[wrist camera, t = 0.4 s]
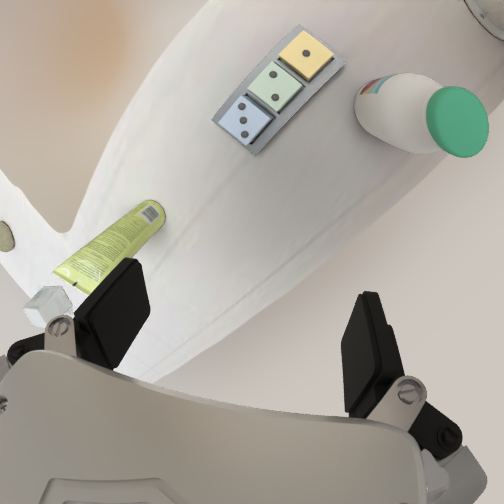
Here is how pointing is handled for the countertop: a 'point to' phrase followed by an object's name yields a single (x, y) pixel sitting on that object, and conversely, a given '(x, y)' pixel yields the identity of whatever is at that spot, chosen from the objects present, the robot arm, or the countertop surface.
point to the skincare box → (47, 305)
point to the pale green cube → (275, 86)
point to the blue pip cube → (245, 119)
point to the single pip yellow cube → (305, 55)
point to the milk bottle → (422, 115)
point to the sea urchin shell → (5, 238)
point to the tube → (111, 247)
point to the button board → (294, 103)
